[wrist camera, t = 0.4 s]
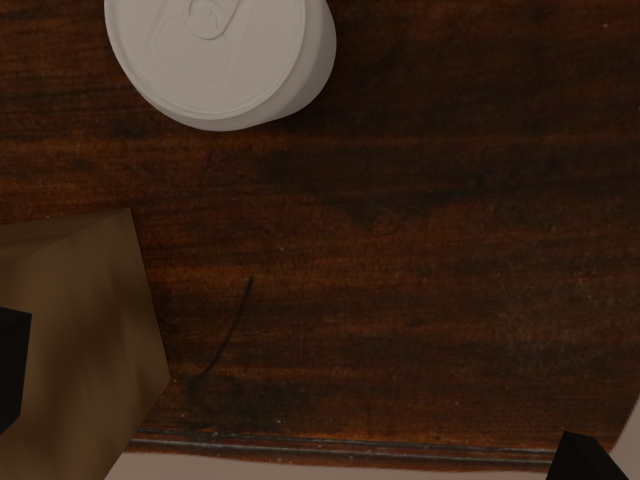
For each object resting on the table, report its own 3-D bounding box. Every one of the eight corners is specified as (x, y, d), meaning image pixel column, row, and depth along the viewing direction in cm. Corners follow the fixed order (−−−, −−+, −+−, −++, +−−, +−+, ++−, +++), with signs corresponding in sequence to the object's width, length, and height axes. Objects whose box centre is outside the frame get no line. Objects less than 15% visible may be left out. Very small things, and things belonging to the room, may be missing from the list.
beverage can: (173, 81, 31) (61, 73, 19) (227, -61, 29) (135, -165, 17) (300, 142, 31) (262, 171, 20) (362, 7, 29) (361, -50, 18)
